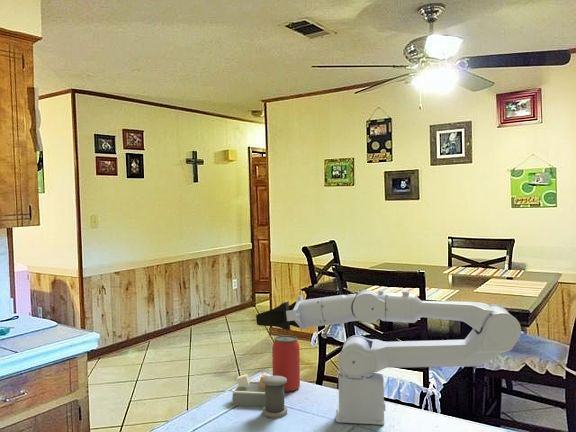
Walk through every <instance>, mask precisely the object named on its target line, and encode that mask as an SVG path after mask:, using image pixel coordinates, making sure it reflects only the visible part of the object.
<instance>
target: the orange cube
mask: <svg viewBox="0 0 576 432" xmlns="http://www.w3.org/2000/svg"><path fill="white" fill-rule="evenodd" d="M265 377H268V375H266V374H262V375H261V377H260V380H259V381H260V383H259V385H260V386H263V387H265V384H263V383H262V379H263V378H265Z"/></svg>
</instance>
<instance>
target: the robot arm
mask: <svg viewBox="0 0 576 432" xmlns="http://www.w3.org/2000/svg"><path fill="white" fill-rule="evenodd" d="M303 298H304V297H303V294H297V301H294V302H293V303H291V304H289V301H285V302H282V303H281V304H280V305H278V306H276V307H274V308H272V309H270V310H266V311H263V312H260V313H258V314H256V315H255V318H256V325H257V326H263V327H276V328H280V329H282V330H286V331H290V330H291V326H293V327H295V328H300V329H302V330H306V329H307V328H312V327H313V328H314V327H323V326H330V325H338V324H346V323H349V322H357V321H360V322H362V323H367V324H368V325H370V324H372V323H373V324H374V323H375V322H377V321H378V320H380V321H381V322H394V323H408V324H411V323H412V324H415V323H416V322H417V321H418V320H419V319H421V318H425V319H426V318H427V319H429V318H430V319H437V320H444V321H447V320H448V321H457V322H463V323H465V324H467V325H468V326H470V327H471V328H472V329H471V330H470V332H469V333H468V334H467V336H466V337H465V338H464V339H446V340H445V339H441V340H440V339H439V340H438V339H437V340H435V339H434V340H404V341H402V340H401V341H399V340H398V341H383V340H382V339H381V340H380V339H376V338H374V339H373V338H367V337H365V336H362V335H360V334H359V335H358V334H357V335H352V336H349V337H348V338H347V339H346V340H345V341H344V343H343V346H342V349H341V351H340V352H339V354H338V356H337V364H338V367H339V368H338V405H337V411H336V418H335V422H336V423H346V424H361V425H362V424H364V425H379V426H381V425H382V426H383V425H384V424H385V412H386V401H385V393H384V392H385V387H384V386H385V385H384V383H385V382H384V374H383V373H378V372H380V371H382V370H384V369H387V368H389V369H390V368H391V369H392V368H395V369H396V368H441V367H442V368H443V367H444V368H445V367H446V368H447V367H451V368H453V367H458V368H459V367H479V366H482V365H484V364H486V363H488V362H489V361H491V360H493V359H494V358H496V357H498V356H499V355H501V354H503V353H506V352H510V351H512V349H513V348H514V347H515V345H516V344H517V342H518V341H519V339H520V338H521V335H522V328H521V324H520V322H519V320H518V319H517V318H516V317H515V316H513V315H512V314H510V312H509V311H508V310H507V308H505V307H503V306H502V305H499V304H495V303H494V304H488V303H486V302H479V301H478V302H477V301H457V300H456V301H455V300H454V301H453V300H452V301H451V300H450V301H449V300H448V301H446V300H444V301H443V300H421V299H420V298H419V297H418V296H417V295H416V293H415V294H414V293H410V291H409V290H402V292H401V293H400V292H397V293H396V292H384V290H383V289H382V290H381V289H378V291H377V292H375V291H374V290H370V289H367V288H365V289H364V288H363V289H362V290H360V291H358V292H357V294H356V293H350V294H339V295H331V296H324V297H317V298H309V299H308V298H307V299H303Z"/></svg>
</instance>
